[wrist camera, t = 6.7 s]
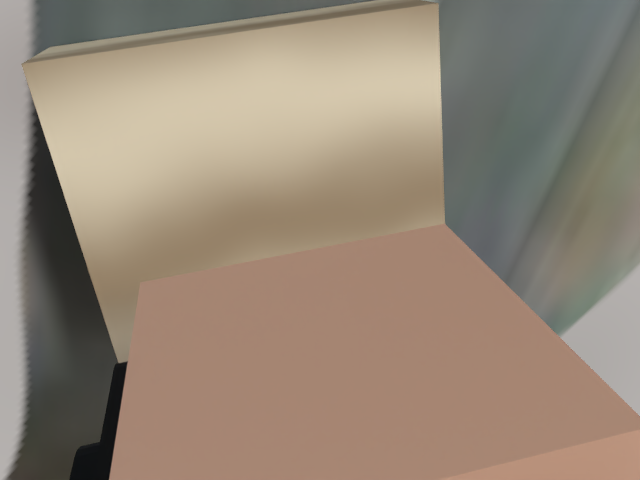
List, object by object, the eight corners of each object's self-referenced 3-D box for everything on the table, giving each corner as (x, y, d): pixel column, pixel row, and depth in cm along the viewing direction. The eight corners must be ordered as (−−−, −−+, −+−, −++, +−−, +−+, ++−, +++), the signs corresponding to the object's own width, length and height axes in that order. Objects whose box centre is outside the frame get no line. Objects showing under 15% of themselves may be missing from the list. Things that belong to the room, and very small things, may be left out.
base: (50, 47, 18) (21, 63, 15) (398, -3, 20) (438, 3, 16) (139, 344, 23) (131, 404, 20) (414, 287, 24) (447, 334, 21)
